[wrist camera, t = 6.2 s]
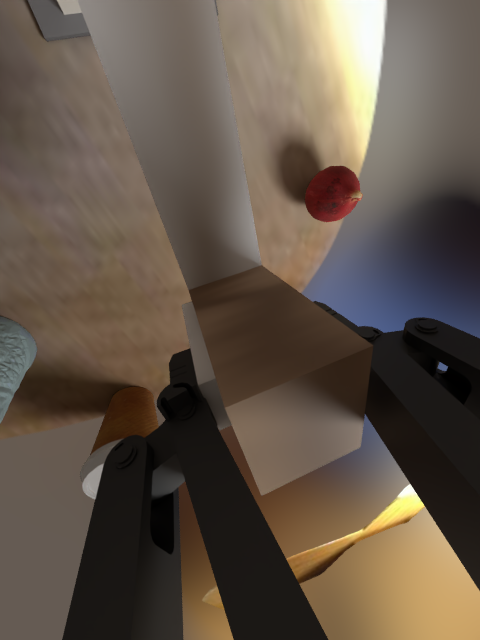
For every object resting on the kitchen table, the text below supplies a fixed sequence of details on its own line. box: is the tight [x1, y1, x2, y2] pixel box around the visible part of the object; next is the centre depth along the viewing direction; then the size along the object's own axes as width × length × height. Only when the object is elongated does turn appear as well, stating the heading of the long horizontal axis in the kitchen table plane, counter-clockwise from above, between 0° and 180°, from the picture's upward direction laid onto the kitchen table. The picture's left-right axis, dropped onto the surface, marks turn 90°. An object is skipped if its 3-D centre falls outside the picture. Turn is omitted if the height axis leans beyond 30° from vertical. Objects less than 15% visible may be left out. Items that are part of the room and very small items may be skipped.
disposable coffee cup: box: [80, 387, 159, 499], centre depth 32 cm, size 10×10×12 cm
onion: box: [305, 166, 363, 222], centre depth 27 cm, size 6×6×8 cm
